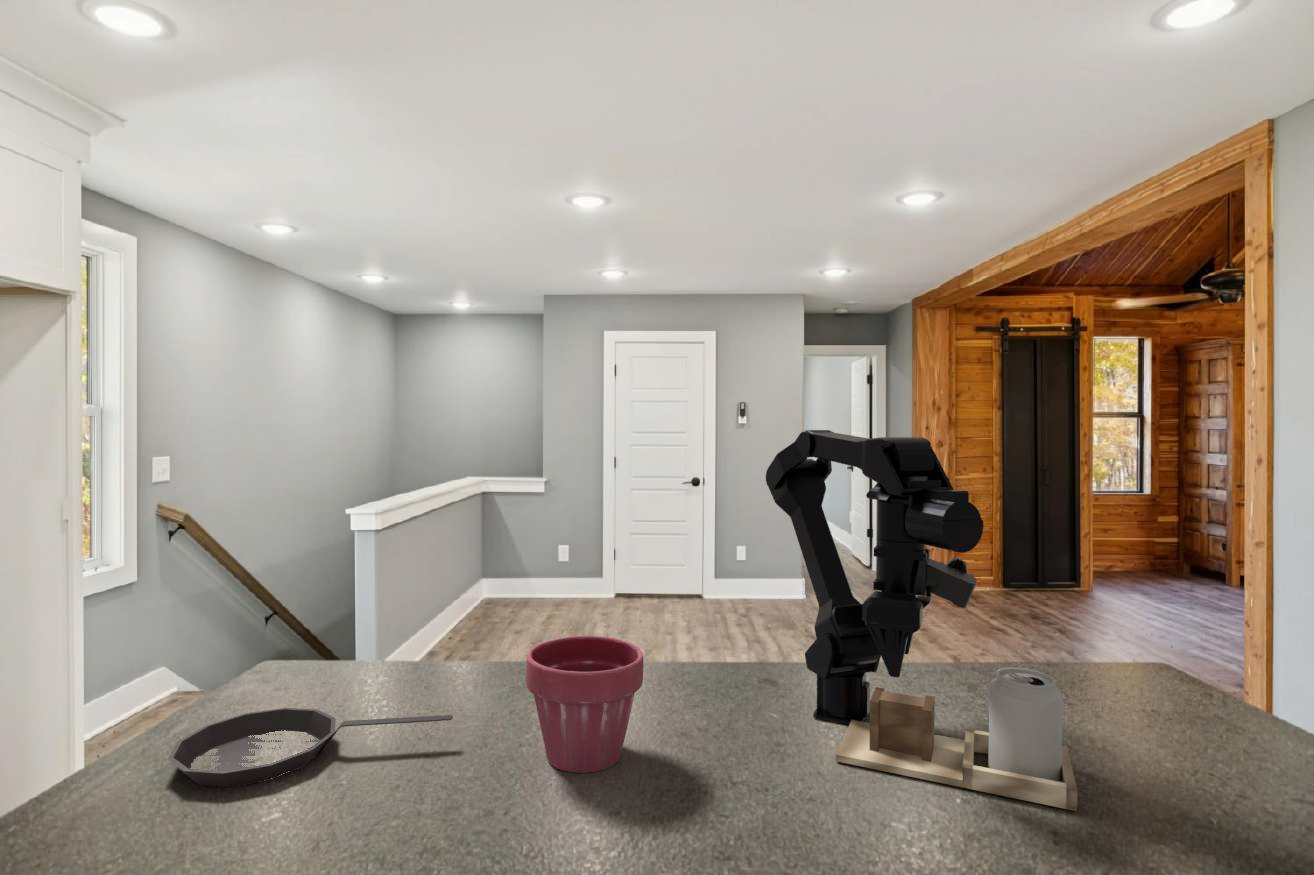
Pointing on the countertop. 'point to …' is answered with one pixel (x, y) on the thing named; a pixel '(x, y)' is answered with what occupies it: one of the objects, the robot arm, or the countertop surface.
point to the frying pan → (235, 739)
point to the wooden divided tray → (941, 753)
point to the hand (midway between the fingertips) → (899, 664)
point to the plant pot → (584, 698)
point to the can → (1025, 723)
